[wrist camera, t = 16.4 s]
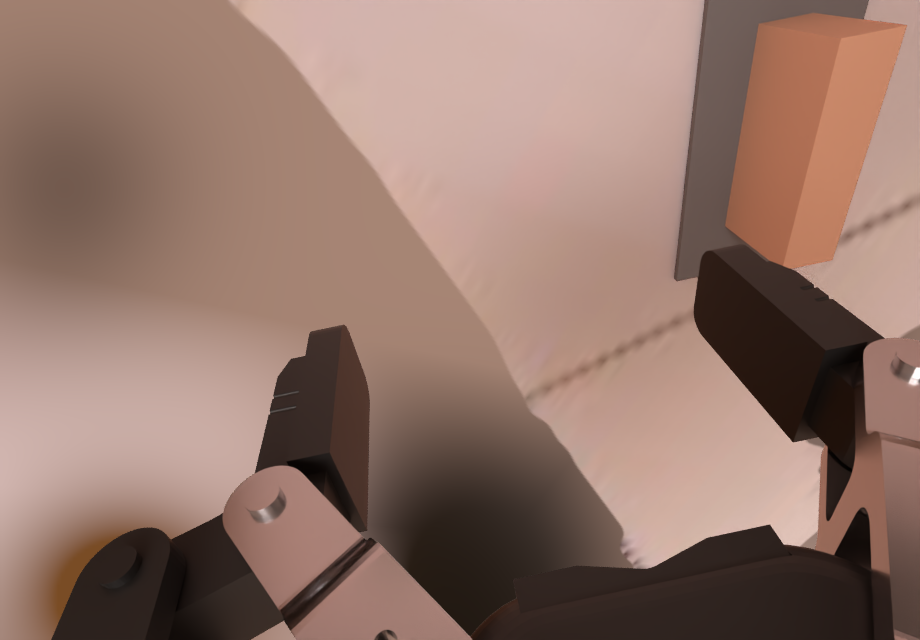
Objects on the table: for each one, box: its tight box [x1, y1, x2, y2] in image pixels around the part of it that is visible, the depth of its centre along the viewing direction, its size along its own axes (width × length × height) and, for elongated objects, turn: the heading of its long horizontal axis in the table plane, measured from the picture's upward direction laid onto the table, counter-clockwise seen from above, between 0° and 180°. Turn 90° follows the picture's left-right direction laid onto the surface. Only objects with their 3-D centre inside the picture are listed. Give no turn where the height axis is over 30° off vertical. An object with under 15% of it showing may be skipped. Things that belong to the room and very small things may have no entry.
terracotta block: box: [725, 13, 907, 269], centre depth 38 cm, size 16×4×8 cm, turn 9°
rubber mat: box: [674, 0, 869, 281], centre depth 41 cm, size 26×12×1 cm, turn 9°
